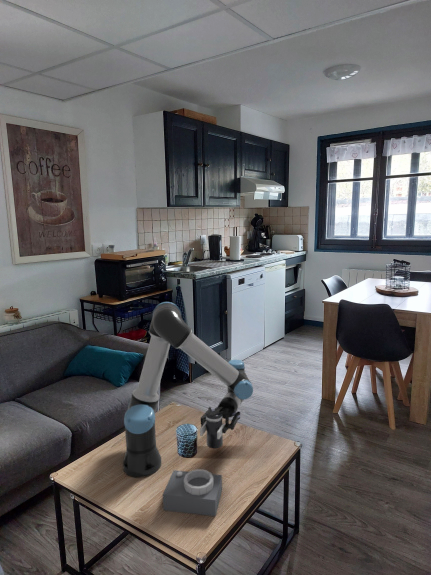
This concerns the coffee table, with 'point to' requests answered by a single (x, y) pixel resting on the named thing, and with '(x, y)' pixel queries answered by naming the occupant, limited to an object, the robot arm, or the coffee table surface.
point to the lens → (213, 429)
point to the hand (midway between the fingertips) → (209, 434)
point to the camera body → (193, 492)
